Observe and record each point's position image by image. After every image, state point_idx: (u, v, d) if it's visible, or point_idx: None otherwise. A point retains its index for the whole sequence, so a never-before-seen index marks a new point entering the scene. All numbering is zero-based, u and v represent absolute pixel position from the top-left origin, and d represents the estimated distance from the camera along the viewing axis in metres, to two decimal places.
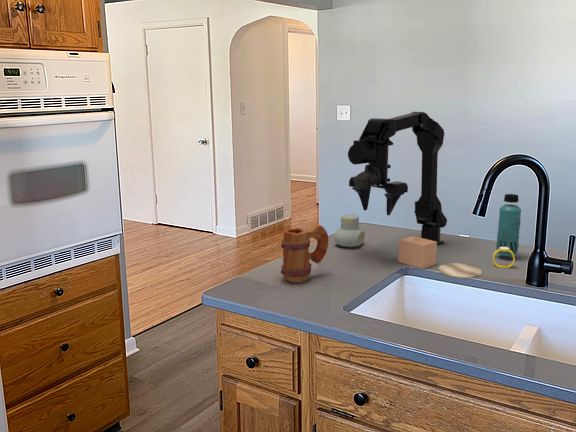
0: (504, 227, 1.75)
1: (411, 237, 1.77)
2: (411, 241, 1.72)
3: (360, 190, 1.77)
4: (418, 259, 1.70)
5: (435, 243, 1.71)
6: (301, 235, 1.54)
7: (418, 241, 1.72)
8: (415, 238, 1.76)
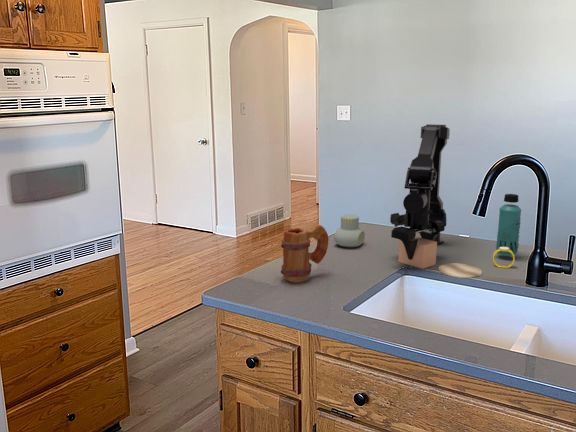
0: (504, 227, 1.75)
1: None
2: None
3: (420, 233, 1.77)
4: (418, 259, 1.70)
5: (435, 243, 1.71)
6: (301, 235, 1.54)
7: (418, 241, 1.72)
8: (415, 238, 1.76)
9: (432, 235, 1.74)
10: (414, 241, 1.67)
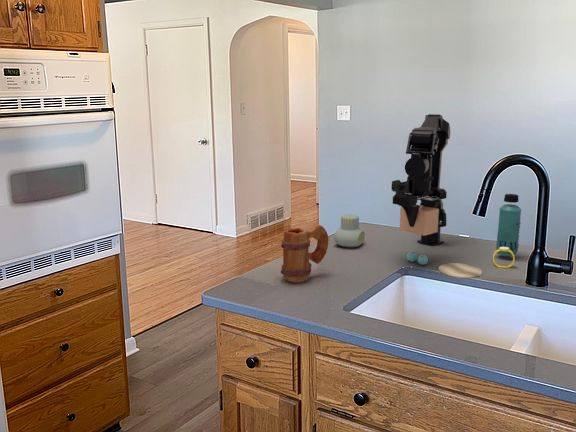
0: (504, 227, 1.75)
1: None
2: None
3: (422, 201, 1.74)
4: (420, 226, 1.68)
5: (437, 210, 1.69)
6: (301, 235, 1.54)
7: (420, 208, 1.70)
8: None
9: (434, 202, 1.71)
10: (416, 207, 1.65)
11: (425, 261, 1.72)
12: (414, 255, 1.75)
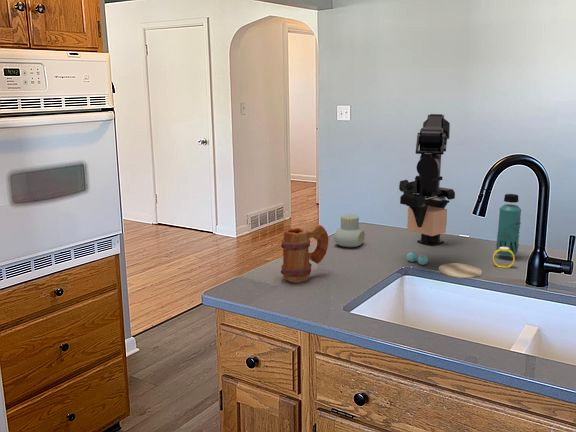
0: (504, 227, 1.75)
1: None
2: None
3: (430, 201, 1.73)
4: (427, 226, 1.66)
5: (445, 210, 1.68)
6: (301, 235, 1.54)
7: (427, 208, 1.68)
8: None
9: (442, 203, 1.70)
10: (423, 207, 1.63)
11: (425, 261, 1.72)
12: (414, 255, 1.75)
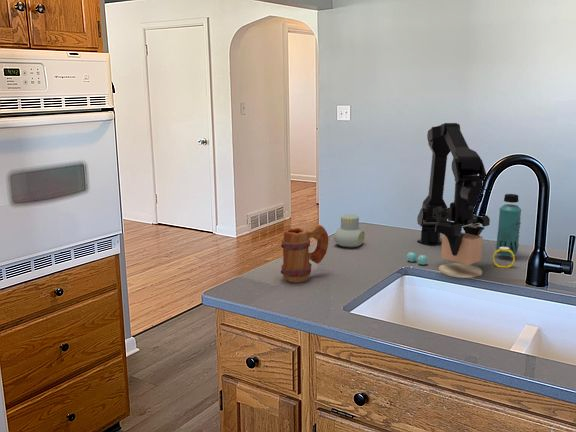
0: (504, 227, 1.75)
1: None
2: None
3: (464, 228, 1.68)
4: (463, 255, 1.62)
5: (481, 238, 1.63)
6: (301, 235, 1.54)
7: (463, 236, 1.64)
8: None
9: (477, 230, 1.65)
10: (460, 236, 1.59)
11: (425, 261, 1.72)
12: (414, 255, 1.75)
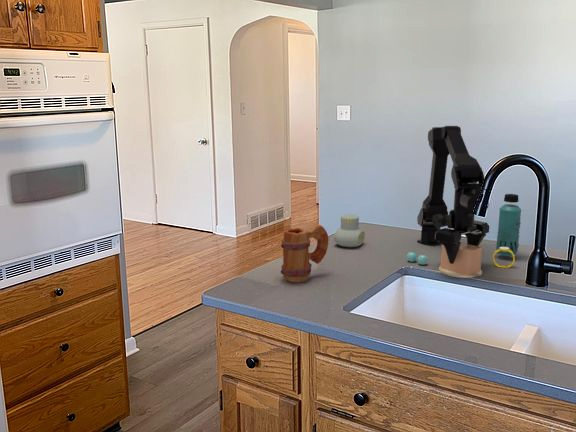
0: (504, 227, 1.75)
1: None
2: None
3: (466, 234, 1.70)
4: (463, 266, 1.62)
5: (480, 249, 1.64)
6: (301, 235, 1.54)
7: (462, 247, 1.64)
8: None
9: (479, 236, 1.66)
10: (457, 244, 1.58)
11: (425, 261, 1.72)
12: (414, 255, 1.75)
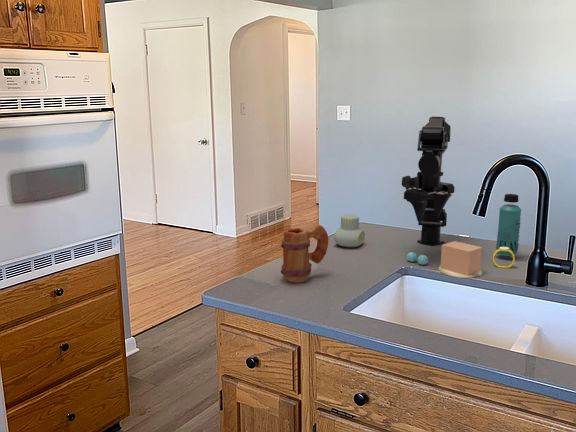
0: (504, 227, 1.75)
1: (454, 242, 1.69)
2: (455, 247, 1.65)
3: (433, 195, 1.81)
4: (463, 266, 1.62)
5: (480, 249, 1.64)
6: (301, 235, 1.54)
7: (462, 247, 1.64)
8: (458, 243, 1.68)
9: (445, 196, 1.78)
10: (424, 203, 1.70)
11: (425, 261, 1.72)
12: (414, 255, 1.75)
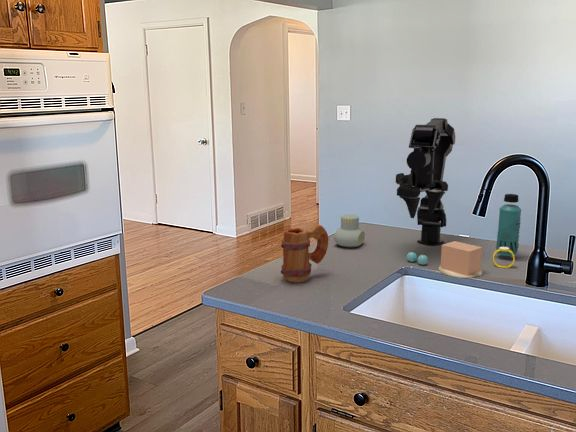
0: (504, 227, 1.75)
1: (454, 242, 1.69)
2: (455, 247, 1.65)
3: (427, 192, 1.84)
4: (463, 266, 1.62)
5: (480, 249, 1.64)
6: (301, 235, 1.54)
7: (462, 247, 1.64)
8: (458, 243, 1.68)
9: (438, 194, 1.81)
10: (416, 199, 1.73)
11: (425, 261, 1.72)
12: (414, 255, 1.75)
